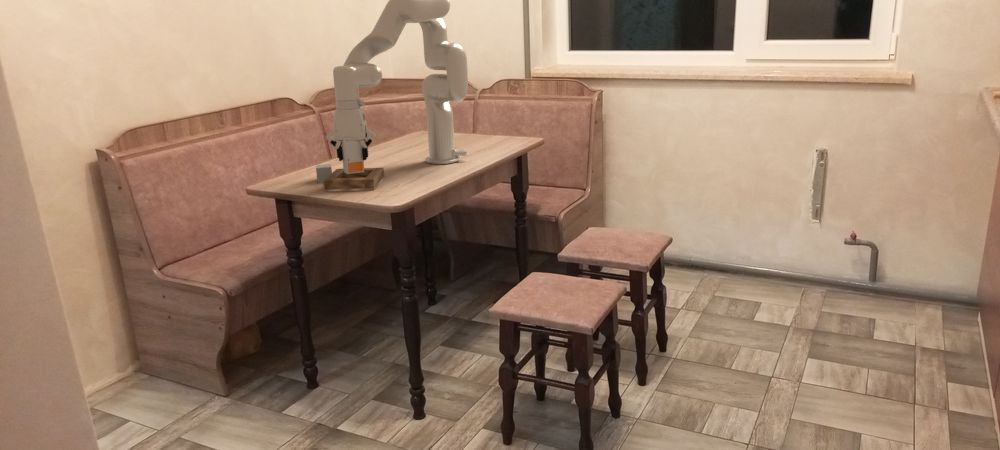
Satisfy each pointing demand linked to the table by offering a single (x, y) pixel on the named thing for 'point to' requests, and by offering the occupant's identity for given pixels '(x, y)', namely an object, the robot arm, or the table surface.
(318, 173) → the grey cube
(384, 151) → the table surface
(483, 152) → the table surface
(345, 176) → the socket block
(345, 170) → the skincare box
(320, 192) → the table surface
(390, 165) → the table surface
